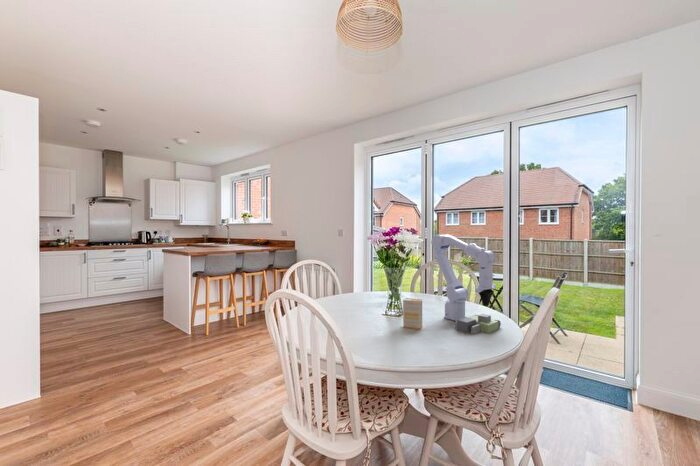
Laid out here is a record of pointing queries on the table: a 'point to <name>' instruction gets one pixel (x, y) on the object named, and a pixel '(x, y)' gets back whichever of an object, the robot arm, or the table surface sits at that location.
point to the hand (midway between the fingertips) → (485, 305)
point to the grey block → (465, 324)
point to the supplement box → (412, 313)
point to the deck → (483, 324)
